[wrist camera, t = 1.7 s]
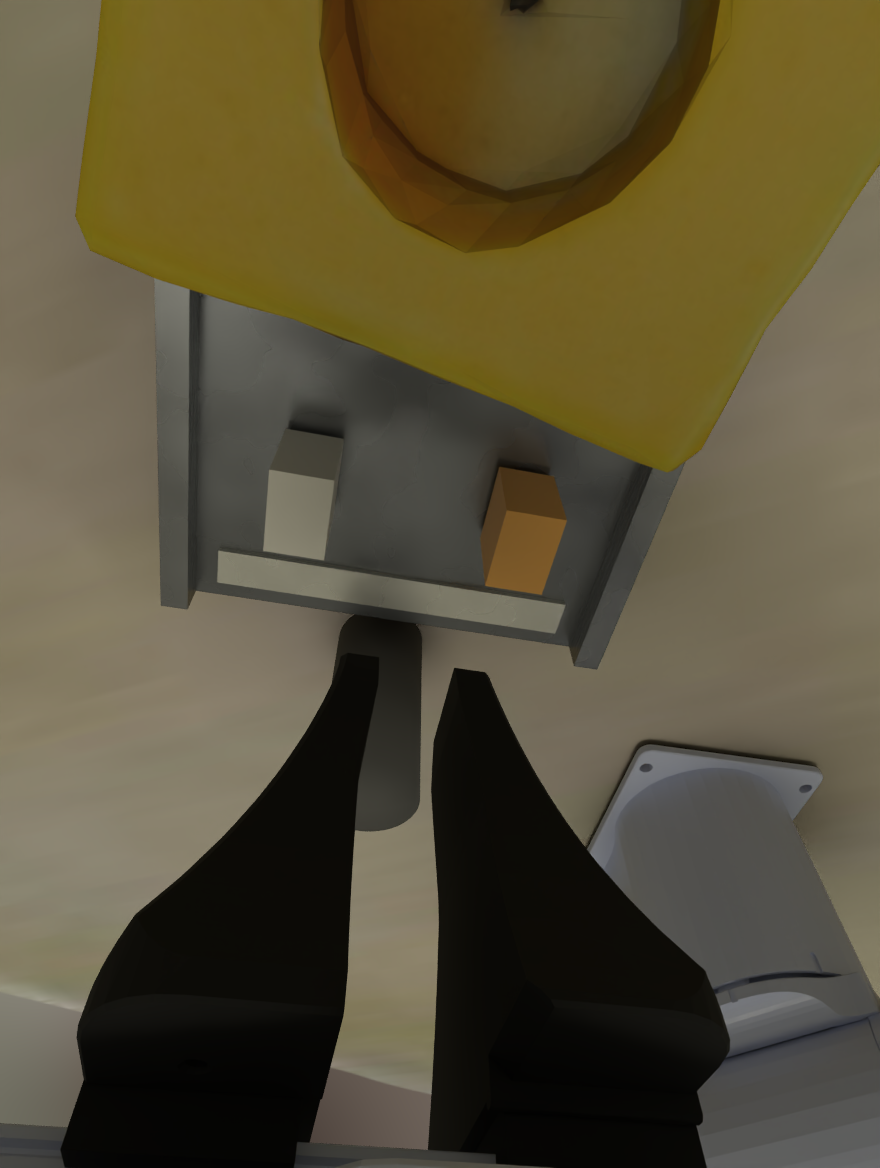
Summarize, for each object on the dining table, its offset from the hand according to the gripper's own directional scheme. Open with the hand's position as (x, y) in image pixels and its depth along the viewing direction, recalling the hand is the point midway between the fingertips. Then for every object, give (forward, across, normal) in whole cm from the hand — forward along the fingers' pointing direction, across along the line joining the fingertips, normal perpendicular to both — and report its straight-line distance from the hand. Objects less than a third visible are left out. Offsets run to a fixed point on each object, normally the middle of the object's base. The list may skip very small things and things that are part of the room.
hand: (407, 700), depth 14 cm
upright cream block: (+9, +3, 0) cm, 9 cm away
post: (+10, 0, +7) cm, 13 cm away
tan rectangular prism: (+9, -3, 0) cm, 9 cm away
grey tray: (+10, 0, 0) cm, 10 cm away
